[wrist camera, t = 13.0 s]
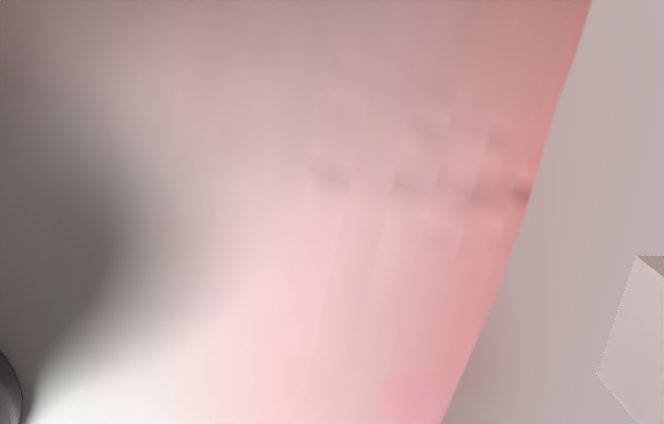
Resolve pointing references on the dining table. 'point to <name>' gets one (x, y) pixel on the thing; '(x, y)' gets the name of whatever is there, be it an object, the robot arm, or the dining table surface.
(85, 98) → the dining table surface
